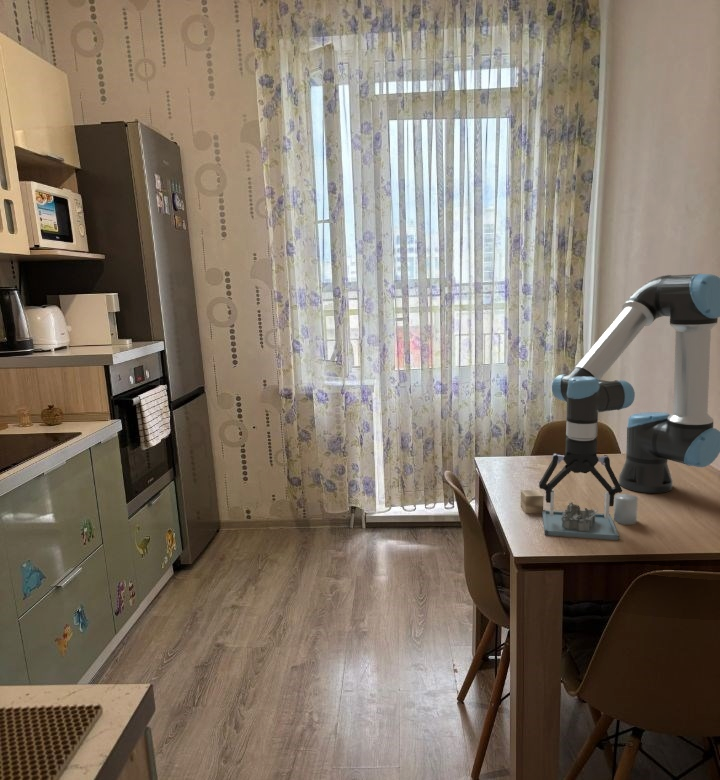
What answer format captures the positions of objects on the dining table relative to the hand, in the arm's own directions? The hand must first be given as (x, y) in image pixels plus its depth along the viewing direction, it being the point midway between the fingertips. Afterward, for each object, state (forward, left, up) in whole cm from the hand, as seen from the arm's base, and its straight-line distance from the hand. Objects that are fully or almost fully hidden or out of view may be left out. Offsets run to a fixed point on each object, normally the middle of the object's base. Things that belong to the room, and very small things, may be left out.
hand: (578, 515), depth 157 cm
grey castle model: (0, 0, -2) cm, 3 cm away
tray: (0, 0, -3) cm, 3 cm away
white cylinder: (-12, -6, -3) cm, 14 cm away
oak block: (+12, -10, -3) cm, 16 cm away
